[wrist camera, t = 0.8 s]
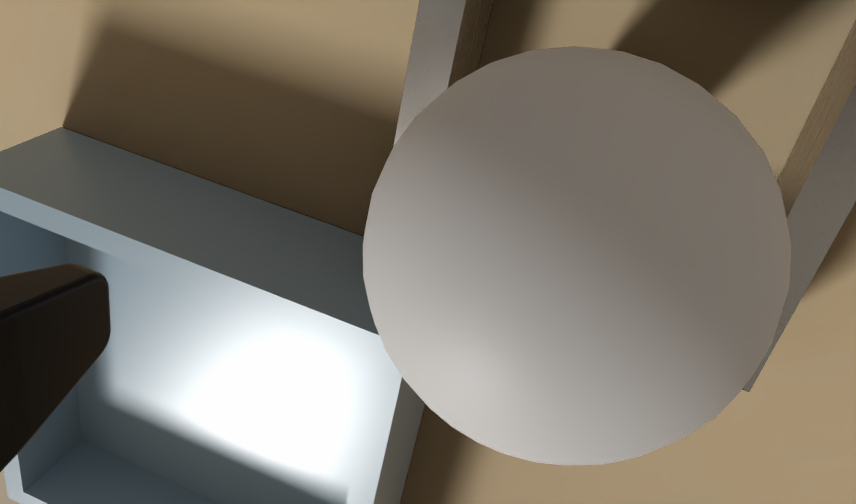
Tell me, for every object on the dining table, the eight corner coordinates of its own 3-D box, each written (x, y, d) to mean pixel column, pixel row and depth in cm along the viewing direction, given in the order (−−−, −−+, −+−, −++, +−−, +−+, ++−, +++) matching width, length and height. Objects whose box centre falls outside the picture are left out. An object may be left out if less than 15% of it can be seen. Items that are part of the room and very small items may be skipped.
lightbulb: (825, 38, 16) (951, 287, 7) (685, 262, 19) (641, 636, 10) (561, -70, 17) (351, 21, 7) (471, 163, 20) (248, 424, 11)
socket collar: (747, 334, 19) (748, 391, 17) (409, 215, 21) (373, 254, 19) (951, -52, 14) (988, -36, 12) (485, -162, 16) (448, -164, 14)
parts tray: (383, 567, 29) (338, 659, 26) (84, 430, 32) (8, 497, 28) (458, 271, 22) (408, 347, 18) (61, 127, 24) (-45, 169, 21)
